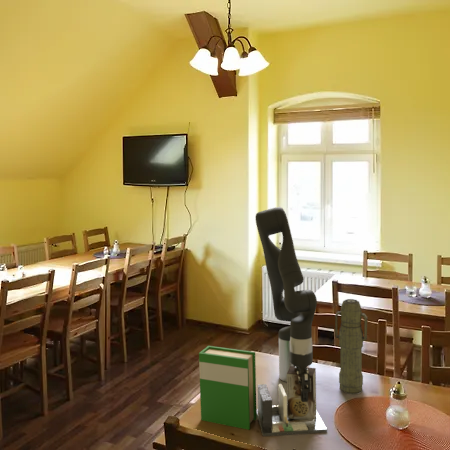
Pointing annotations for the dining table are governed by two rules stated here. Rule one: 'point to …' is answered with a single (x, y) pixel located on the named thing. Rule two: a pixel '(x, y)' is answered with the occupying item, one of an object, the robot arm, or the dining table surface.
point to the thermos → (351, 346)
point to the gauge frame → (273, 422)
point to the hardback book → (228, 386)
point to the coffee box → (295, 404)
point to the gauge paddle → (282, 403)
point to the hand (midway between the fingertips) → (301, 395)
